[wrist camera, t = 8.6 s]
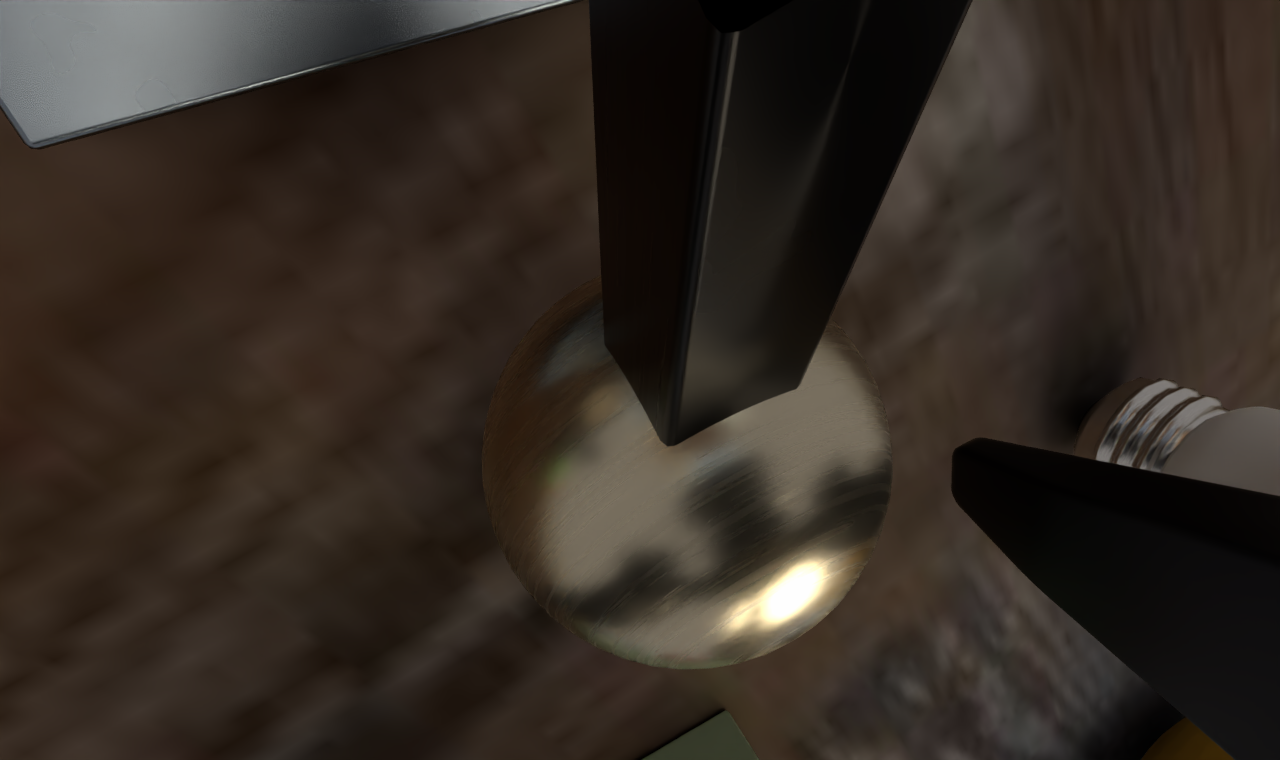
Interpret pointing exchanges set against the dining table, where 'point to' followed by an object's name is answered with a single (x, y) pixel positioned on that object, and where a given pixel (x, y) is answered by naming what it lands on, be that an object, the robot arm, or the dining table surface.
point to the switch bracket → (198, 51)
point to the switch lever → (714, 330)
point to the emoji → (1185, 745)
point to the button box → (709, 743)
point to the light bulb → (1183, 435)
